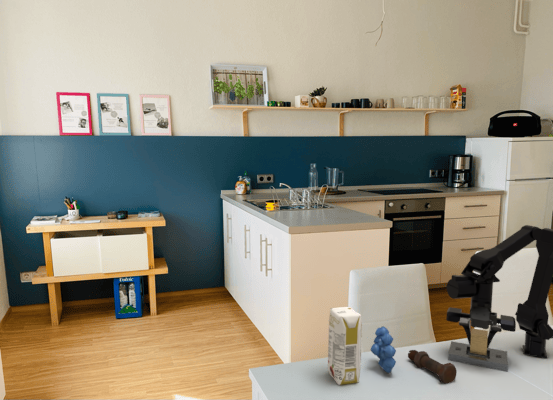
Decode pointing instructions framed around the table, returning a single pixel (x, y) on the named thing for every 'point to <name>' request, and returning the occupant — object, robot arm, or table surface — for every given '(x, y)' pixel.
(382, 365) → the grapes
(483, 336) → the wooden block
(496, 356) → the grey slotted plate
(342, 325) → the juice carton
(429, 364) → the bolt
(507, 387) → the table surface
